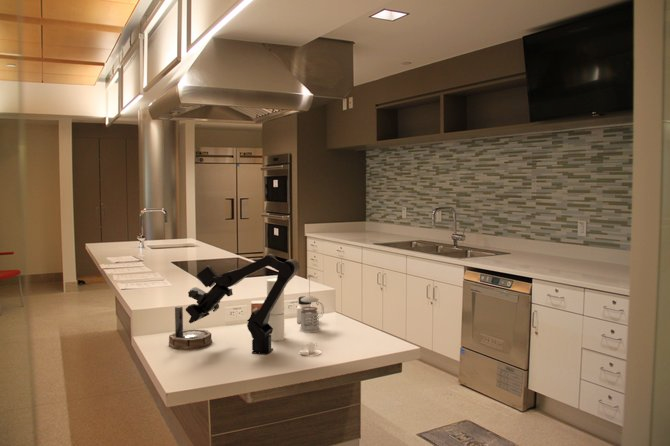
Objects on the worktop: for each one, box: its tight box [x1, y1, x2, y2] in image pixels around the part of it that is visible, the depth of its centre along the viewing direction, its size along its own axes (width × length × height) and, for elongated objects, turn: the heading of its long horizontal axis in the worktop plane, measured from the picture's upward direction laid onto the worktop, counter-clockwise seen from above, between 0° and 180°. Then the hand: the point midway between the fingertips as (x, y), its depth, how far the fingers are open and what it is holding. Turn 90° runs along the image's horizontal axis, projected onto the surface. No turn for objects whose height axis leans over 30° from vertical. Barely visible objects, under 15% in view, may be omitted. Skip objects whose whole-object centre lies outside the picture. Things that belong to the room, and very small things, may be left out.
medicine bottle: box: [296, 295, 314, 324], centre depth 255 cm, size 7×7×12 cm
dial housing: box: [168, 328, 213, 350], centre depth 219 cm, size 17×17×4 cm
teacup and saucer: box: [299, 341, 322, 357], centre depth 206 cm, size 9×8×4 cm
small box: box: [250, 299, 265, 315], centre depth 239 cm, size 8×6×13 cm
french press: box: [298, 274, 325, 334], centre depth 240 cm, size 10×12×25 cm
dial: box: [174, 306, 206, 339], centre depth 219 cm, size 13×13×14 cm
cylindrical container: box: [266, 277, 285, 342], centre depth 225 cm, size 7×7×25 cm
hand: (189, 322), depth 214 cm, fingers closed
